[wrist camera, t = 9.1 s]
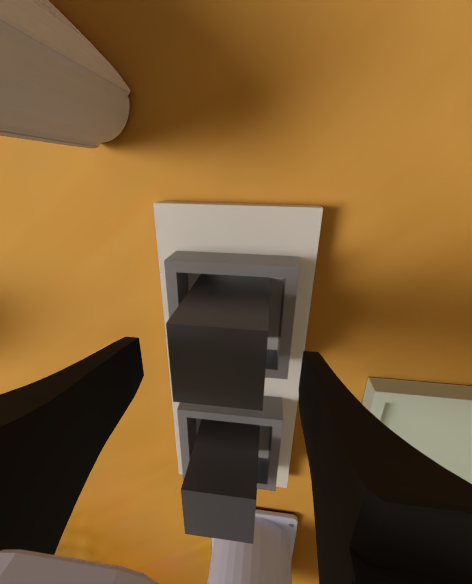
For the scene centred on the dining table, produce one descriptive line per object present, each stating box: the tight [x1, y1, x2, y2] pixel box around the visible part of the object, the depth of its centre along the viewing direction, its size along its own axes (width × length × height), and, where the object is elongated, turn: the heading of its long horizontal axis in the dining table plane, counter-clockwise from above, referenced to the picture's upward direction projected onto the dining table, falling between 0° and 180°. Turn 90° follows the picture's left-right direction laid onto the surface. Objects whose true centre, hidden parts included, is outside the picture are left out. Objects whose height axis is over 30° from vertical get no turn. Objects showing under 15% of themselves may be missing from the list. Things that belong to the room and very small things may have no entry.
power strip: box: [153, 201, 323, 544], centre depth 17 cm, size 22×9×7 cm, turn 179°
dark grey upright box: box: [166, 274, 270, 411], centre depth 14 cm, size 4×4×6 cm
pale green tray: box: [362, 377, 472, 484], centre depth 21 cm, size 14×14×1 cm
